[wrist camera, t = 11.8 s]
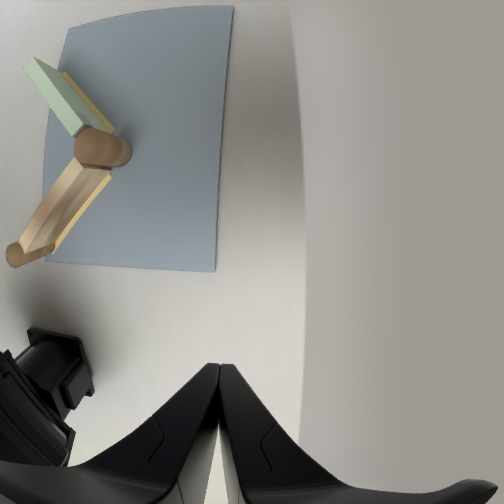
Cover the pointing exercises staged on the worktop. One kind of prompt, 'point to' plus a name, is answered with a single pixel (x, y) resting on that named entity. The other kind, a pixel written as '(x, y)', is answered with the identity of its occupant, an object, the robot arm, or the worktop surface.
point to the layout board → (148, 137)
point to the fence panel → (62, 98)
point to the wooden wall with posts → (69, 193)
